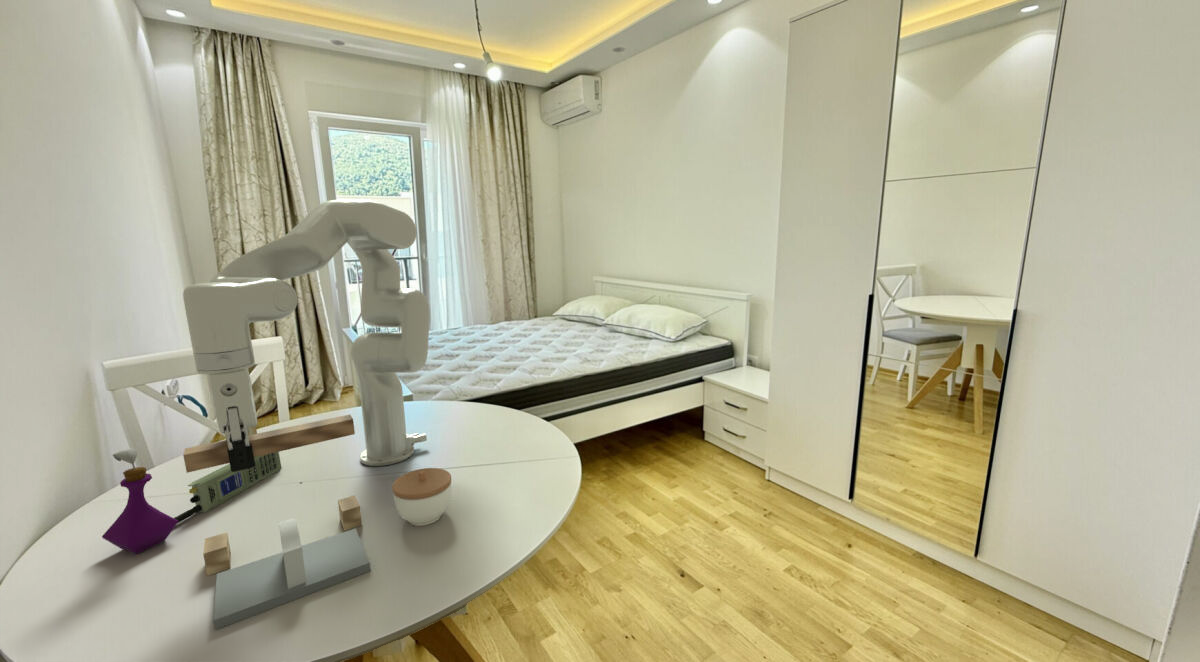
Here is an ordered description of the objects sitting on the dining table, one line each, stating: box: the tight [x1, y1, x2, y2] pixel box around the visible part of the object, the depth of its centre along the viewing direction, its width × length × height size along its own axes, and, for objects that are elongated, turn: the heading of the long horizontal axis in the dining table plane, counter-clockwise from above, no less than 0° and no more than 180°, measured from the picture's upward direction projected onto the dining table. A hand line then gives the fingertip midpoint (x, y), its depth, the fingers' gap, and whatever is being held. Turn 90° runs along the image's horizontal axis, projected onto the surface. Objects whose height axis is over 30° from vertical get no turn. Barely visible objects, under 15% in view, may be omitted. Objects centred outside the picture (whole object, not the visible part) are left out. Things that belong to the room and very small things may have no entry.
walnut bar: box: [183, 414, 356, 474], centre depth 83 cm, size 24×3×3 cm, turn 127°
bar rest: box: [202, 495, 363, 576], centre depth 86 cm, size 23×5×4 cm, turn 127°
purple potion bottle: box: [101, 448, 179, 555], centre depth 84 cm, size 8×8×18 cm
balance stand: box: [213, 517, 371, 631], centre depth 76 cm, size 20×12×8 cm, turn 127°
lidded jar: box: [391, 467, 452, 527], centre depth 93 cm, size 11×11×9 cm
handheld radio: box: [173, 452, 282, 525], centre depth 102 cm, size 7×3×25 cm
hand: (243, 463), depth 80 cm, fingers closed on walnut bar, 3 cm apart
